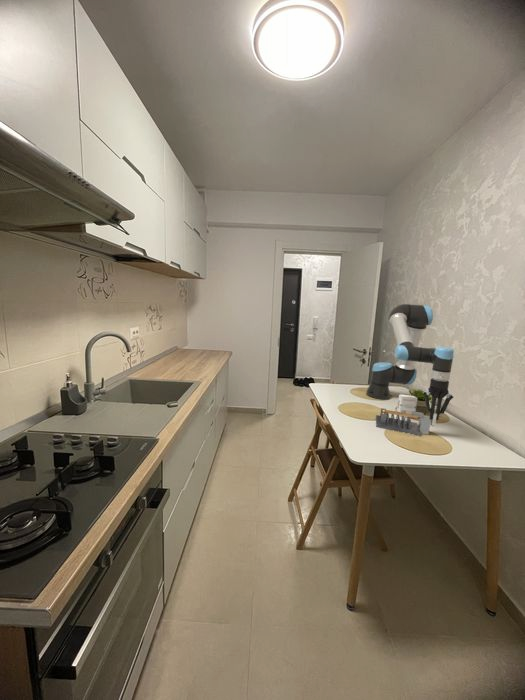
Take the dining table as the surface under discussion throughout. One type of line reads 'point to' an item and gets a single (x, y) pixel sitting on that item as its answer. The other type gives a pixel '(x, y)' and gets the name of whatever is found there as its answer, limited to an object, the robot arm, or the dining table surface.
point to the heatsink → (397, 423)
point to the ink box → (406, 404)
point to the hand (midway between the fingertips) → (432, 425)
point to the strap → (398, 413)
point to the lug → (423, 422)
